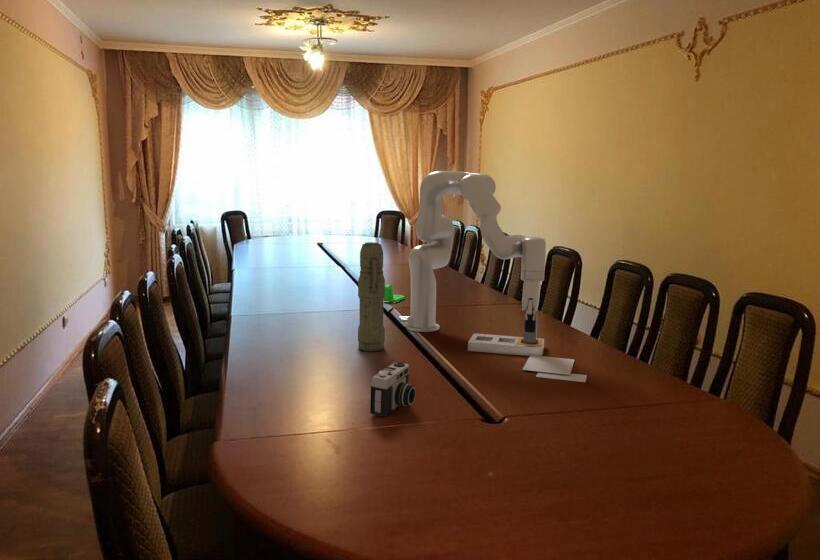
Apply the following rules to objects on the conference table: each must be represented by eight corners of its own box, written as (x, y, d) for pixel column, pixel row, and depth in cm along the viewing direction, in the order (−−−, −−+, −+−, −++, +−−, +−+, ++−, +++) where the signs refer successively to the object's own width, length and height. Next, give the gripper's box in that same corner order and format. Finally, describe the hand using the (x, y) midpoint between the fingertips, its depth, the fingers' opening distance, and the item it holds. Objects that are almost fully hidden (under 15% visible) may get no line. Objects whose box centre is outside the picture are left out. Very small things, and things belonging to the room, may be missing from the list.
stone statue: (378, 342, 221) (379, 240, 215) (389, 351, 210) (390, 244, 204) (353, 344, 218) (353, 241, 212) (363, 353, 207) (363, 245, 201)
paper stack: (605, 364, 199) (606, 362, 199) (602, 389, 176) (602, 387, 176) (530, 357, 207) (530, 354, 207) (517, 380, 183) (517, 377, 183)
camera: (395, 420, 152) (395, 380, 150) (364, 412, 156) (364, 373, 155) (425, 403, 163) (425, 365, 162) (395, 396, 168) (395, 359, 166)
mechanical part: (395, 304, 285) (395, 286, 284) (383, 303, 288) (383, 285, 286) (406, 299, 296) (406, 282, 295) (394, 298, 298) (394, 281, 297)
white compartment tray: (467, 350, 212) (468, 341, 211) (473, 341, 223) (473, 332, 223) (541, 356, 206) (542, 347, 205) (543, 347, 217) (544, 338, 217)
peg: (523, 346, 211) (524, 316, 209) (524, 343, 215) (525, 314, 213) (535, 347, 210) (536, 317, 208) (536, 344, 214) (537, 314, 212)
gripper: (523, 271, 217) (521, 324, 220) (518, 278, 201) (516, 335, 204) (545, 272, 215) (543, 325, 218) (543, 279, 199) (540, 337, 202)
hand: (530, 329), depth 211 cm, fingers closed on peg, 4 cm apart
